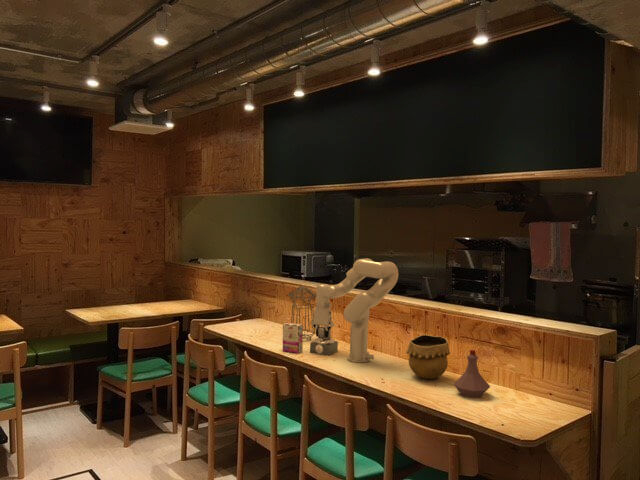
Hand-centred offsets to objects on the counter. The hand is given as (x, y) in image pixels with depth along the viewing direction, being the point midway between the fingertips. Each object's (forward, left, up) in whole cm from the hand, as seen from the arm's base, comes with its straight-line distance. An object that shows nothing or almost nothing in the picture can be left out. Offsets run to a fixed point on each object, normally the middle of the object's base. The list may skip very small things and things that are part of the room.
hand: (322, 336), depth 306 cm
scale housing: (0, -3, -10) cm, 10 cm away
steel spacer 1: (0, 0, -1) cm, 1 cm away
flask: (-91, +30, -10) cm, 96 cm away
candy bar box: (+16, +6, -10) cm, 20 cm away
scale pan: (0, -3, -4) cm, 5 cm away
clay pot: (-67, +16, -10) cm, 69 cm away
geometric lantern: (+26, -23, -10) cm, 36 cm away
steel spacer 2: (0, -6, -3) cm, 6 cm away
